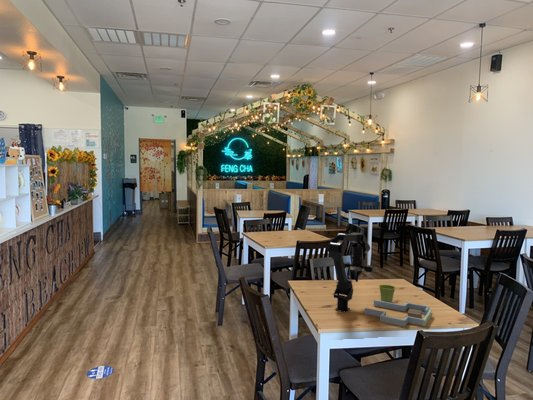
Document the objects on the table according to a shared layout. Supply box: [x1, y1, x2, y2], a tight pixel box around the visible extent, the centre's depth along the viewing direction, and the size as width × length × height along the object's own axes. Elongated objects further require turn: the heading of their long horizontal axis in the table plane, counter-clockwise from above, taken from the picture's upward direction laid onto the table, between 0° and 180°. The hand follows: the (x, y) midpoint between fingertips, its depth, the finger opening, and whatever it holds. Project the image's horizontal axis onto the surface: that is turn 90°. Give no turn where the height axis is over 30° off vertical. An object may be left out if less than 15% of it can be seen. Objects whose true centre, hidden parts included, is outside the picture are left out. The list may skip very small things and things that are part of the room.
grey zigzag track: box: [363, 299, 432, 327], centre depth 206 cm, size 29×30×3 cm
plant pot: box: [378, 284, 397, 303], centre depth 228 cm, size 9×9×9 cm
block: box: [407, 309, 423, 319], centre depth 201 cm, size 6×6×4 cm
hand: (356, 281), depth 225 cm, fingers closed
